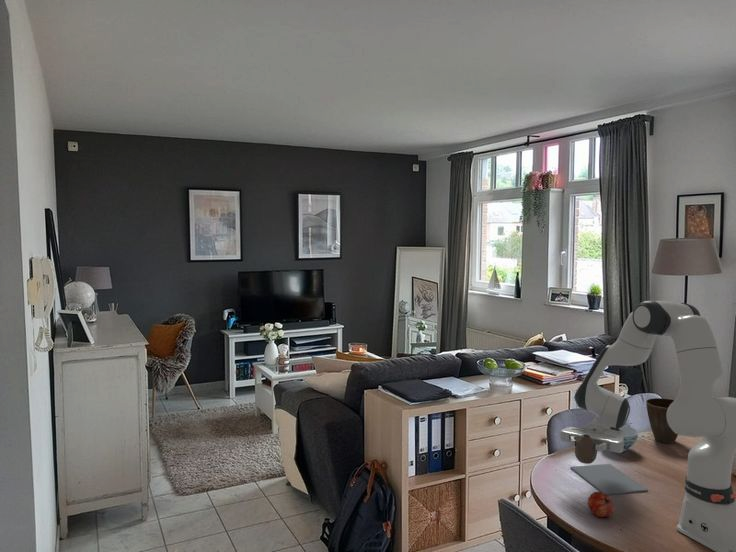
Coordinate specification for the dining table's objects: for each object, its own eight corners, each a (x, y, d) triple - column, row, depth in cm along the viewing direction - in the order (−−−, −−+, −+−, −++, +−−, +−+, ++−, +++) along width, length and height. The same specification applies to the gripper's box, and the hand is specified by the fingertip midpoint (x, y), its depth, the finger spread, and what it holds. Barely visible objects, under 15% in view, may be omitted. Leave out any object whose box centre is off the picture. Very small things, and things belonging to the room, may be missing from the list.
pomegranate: (583, 519, 182) (598, 513, 174) (579, 495, 186) (593, 487, 178) (605, 521, 183) (621, 514, 174) (601, 497, 187) (616, 489, 178)
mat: (647, 491, 197) (648, 489, 197) (604, 494, 194) (604, 493, 194) (609, 465, 219) (609, 463, 219) (570, 468, 216) (570, 466, 216)
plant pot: (654, 446, 238) (655, 408, 237) (638, 434, 253) (640, 397, 251) (691, 447, 237) (693, 408, 236) (673, 434, 252) (675, 398, 251)
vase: (598, 466, 189) (599, 439, 188) (576, 464, 190) (576, 438, 189) (594, 458, 195) (595, 432, 195) (572, 456, 197) (573, 431, 196)
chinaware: (632, 443, 242) (632, 425, 241) (642, 457, 227) (643, 437, 226) (594, 440, 244) (594, 422, 244) (601, 454, 230) (602, 435, 229)
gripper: (567, 419, 209) (553, 430, 198) (628, 431, 196) (617, 443, 185) (566, 437, 209) (553, 448, 198) (627, 449, 197) (617, 462, 186)
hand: (584, 446), depth 192 cm, fingers closed on vase, 7 cm apart
